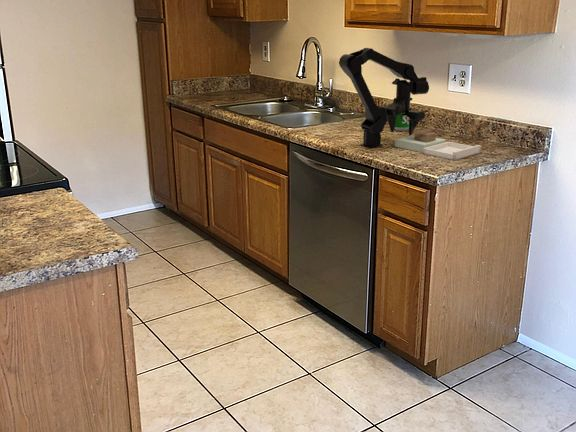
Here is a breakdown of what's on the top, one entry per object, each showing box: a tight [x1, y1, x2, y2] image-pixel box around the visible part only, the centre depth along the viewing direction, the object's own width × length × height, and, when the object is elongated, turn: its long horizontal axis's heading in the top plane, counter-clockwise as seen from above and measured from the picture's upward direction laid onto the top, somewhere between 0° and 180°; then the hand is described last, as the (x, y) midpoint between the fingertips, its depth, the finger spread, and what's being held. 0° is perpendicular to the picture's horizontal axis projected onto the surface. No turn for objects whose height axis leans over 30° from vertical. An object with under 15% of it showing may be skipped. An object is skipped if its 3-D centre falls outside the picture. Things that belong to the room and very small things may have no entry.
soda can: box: [394, 104, 412, 132], centre depth 276 cm, size 8×8×12 cm
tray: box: [421, 141, 482, 161], centre depth 235 cm, size 15×17×3 cm
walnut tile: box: [413, 130, 437, 143], centre depth 243 cm, size 6×6×3 cm
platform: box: [394, 134, 447, 153], centre depth 246 cm, size 14×14×3 cm
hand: (401, 133), depth 252 cm, fingers open, 9 cm apart
